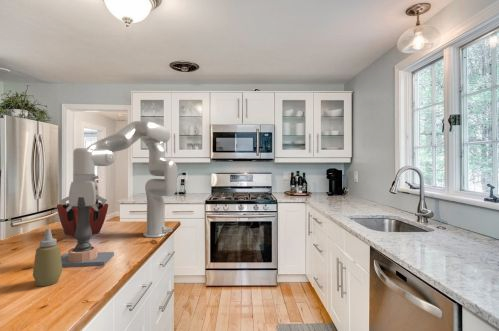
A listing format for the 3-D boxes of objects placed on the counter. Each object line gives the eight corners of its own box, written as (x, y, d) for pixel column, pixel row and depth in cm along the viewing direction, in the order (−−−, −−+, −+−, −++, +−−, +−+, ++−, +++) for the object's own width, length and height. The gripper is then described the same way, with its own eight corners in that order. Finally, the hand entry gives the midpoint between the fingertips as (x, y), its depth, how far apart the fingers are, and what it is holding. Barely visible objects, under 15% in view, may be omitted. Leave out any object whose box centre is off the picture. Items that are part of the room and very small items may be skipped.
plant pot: (109, 233, 157) (109, 203, 157) (73, 240, 141) (73, 208, 141) (91, 228, 167) (91, 200, 167) (55, 235, 151) (55, 204, 151)
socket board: (113, 255, 120) (114, 243, 120) (104, 265, 108) (104, 252, 108) (63, 257, 117) (63, 245, 117) (47, 267, 105) (48, 254, 105)
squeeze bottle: (43, 277, 96) (43, 226, 96) (67, 277, 97) (67, 226, 97) (26, 288, 88) (26, 232, 88) (52, 288, 89) (53, 232, 89)
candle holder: (84, 260, 109) (84, 197, 109) (70, 259, 110) (71, 197, 110) (95, 255, 115) (96, 195, 115) (82, 254, 116) (83, 195, 116)
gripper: (109, 178, 117) (109, 218, 118) (65, 177, 115) (64, 219, 115) (103, 179, 110) (103, 222, 110) (55, 178, 107) (55, 222, 107)
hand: (83, 220), depth 112 cm, fingers open, 9 cm apart
